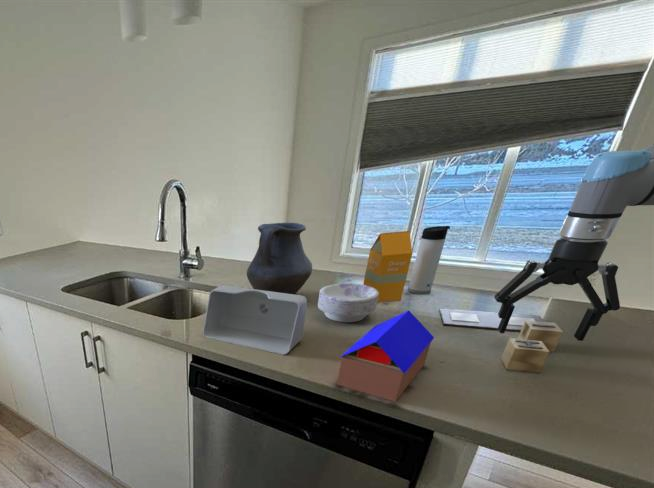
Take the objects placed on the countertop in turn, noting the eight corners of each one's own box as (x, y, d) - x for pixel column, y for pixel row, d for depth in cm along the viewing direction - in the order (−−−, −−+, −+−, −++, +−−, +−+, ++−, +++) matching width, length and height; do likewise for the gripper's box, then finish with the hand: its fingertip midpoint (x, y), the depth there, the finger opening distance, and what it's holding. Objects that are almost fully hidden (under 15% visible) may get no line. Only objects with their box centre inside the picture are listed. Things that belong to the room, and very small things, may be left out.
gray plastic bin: (311, 333, 110) (317, 288, 103) (288, 355, 99) (293, 307, 93) (229, 318, 124) (230, 278, 118) (201, 336, 114) (201, 293, 108)
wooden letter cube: (532, 361, 88) (542, 340, 85) (539, 373, 83) (549, 351, 81) (500, 358, 90) (509, 337, 87) (506, 369, 86) (515, 347, 83)
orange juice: (401, 300, 125) (417, 233, 115) (372, 302, 125) (386, 235, 115) (388, 292, 132) (402, 228, 122) (360, 294, 132) (373, 231, 122)
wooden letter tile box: (546, 342, 94) (556, 322, 92) (553, 352, 90) (563, 331, 88) (516, 339, 97) (525, 319, 94) (522, 349, 93) (531, 328, 90)
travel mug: (432, 294, 127) (452, 228, 116) (408, 293, 129) (425, 228, 119) (430, 288, 131) (448, 224, 121) (406, 287, 134) (422, 224, 124)
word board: (538, 317, 106) (540, 315, 106) (552, 335, 97) (553, 332, 97) (439, 310, 116) (439, 307, 115) (443, 325, 107) (443, 323, 106)
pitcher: (318, 294, 136) (329, 215, 123) (291, 314, 122) (301, 228, 110) (261, 286, 148) (266, 214, 136) (231, 304, 134) (234, 225, 122)
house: (334, 384, 86) (343, 334, 80) (369, 351, 98) (379, 305, 92) (396, 403, 79) (411, 349, 73) (426, 364, 90) (441, 315, 84)
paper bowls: (309, 321, 116) (312, 295, 112) (324, 305, 127) (328, 280, 123) (366, 330, 108) (372, 302, 104) (378, 312, 118) (384, 286, 114)
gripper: (508, 240, 84) (473, 334, 95) (682, 244, 73) (620, 348, 84) (501, 233, 90) (468, 322, 100) (661, 235, 79) (606, 335, 90)
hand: (538, 334), depth 92 cm, fingers open, 13 cm apart
